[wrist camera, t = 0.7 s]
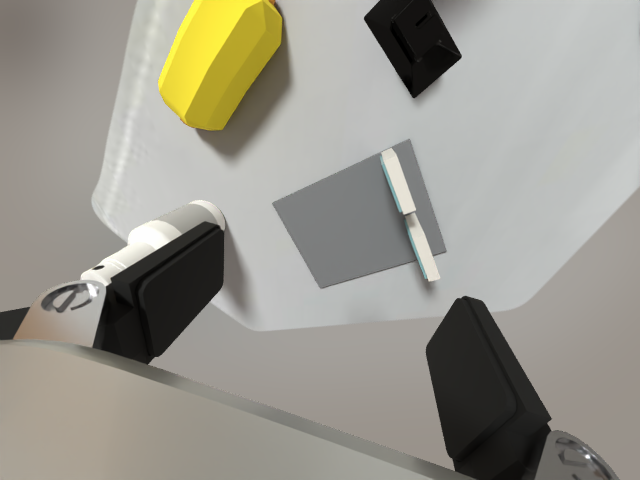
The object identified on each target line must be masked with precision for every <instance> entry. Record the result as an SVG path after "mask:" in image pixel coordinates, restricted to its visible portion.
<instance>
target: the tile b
mask: <svg viewBox="0 0 640 480" xmlns="http://www.w3.org/2000/svg"><path fill="white" fill-rule="evenodd" d="M405 218H406V219H405V220H404V222H405V225H406V228H407V231H408V235H409V238H410V241H411V243H412V246H413V249H414V251H415V254H416V257H417V259H418V262H419V264H420V267H421V270H422V272H423V275H424V278H425V279H427V278H428V281H429V282H430V281H434V280H437V279H440V276H439V273H438V270H437V267H436V264H435V262H434V259H433V256H432V253H431V250H430V247H429V245H428V242H427V239H426V236H425V234H424V232H423V229H422V227H421V225H420V223H419V221H418V219H417V217H416V214H415V213H413V214H410V215H407V216H405Z"/></svg>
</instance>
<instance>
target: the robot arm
mask: <svg viewBox="0 0 640 480" xmlns="http://www.w3.org/2000/svg"><path fill="white" fill-rule="evenodd" d="M223 275H224V231H223V230H222V229H221V227H220V226H219V225H217V224H214V223H210V222H207V221H204V222H202V223H200V224H199V225H197V226H195V227H194V228H192V229H190V230H189V231H187V232H185V233H184V234H182V235H180V236H179V237H177V238H176V239H174V240H172V241H171V242H169V243H167V244H166V245H164V246H162V247H161V248H159V249H157V250H156V251H154V252H152V253H151V254H149V255H147V256H146V257H144V258H142V259H141V260H139V261H138V262H136V263H134V264H133V265H131V266H129V267H128V268H126V269H124V270H123V271H121V272H119V273H118V274H116V275H114V276H113V277H111V278H110V279H111V282H112V283H110V284H109V285H107V286H104V284H103V283H100V282H98V281H94V280H77V281H71V282H66V283H64V284H60V285H57V286H55V287H53V288H51V289H49V290H46V291H45V292H44V293H42V294H41V295H39V296H38V297H37V298H36V300H35V301H34V302H33V303H32V305H31V307H27V308H22V309H16V310H10V311H5V312H0V480H620V479H619V478H618V477H617V475H616V474H615V472H614V471H613V470H612V468H611V467H610V466H609V465H608V464H607V463H606V462H605V461H604V460H603V459H602V457H601V456H599V455H598V454H597V453H596V452H595V451H594V450H593V449H592V448H590V447H589V446H588V445H587V444H585V443H584V442H582V441H581V440H580V439H578V438H576V437H575V436H573V435H571V434H568V433H567V432H563V431H559V430H555V431H551V429H550V427H549V426H548V424H547V423H548V422H549V421H550V420H551V417H550V415H549V413H548V411H547V410H546V408H545V406H544V405H543V403H542V401H541V400H540V398H539V396H538V394H537V393H536V391H535V389H534V388H533V386H532V384H531V382H530V381H529V379H528V378H527V376H526V374H525V372H524V371H523V369H522V367H521V365H520V364H519V362H518V360H517V359H516V357H515V355H514V353H513V352H512V350H511V348H510V347H509V345H508V343H507V341H506V340H505V338H504V337H503V335H502V333H501V331H500V329H499V328H498V326H497V324H496V323H495V321H494V319H493V318H492V316H491V314H490V312H489V311H488V309H487V307H486V305H485V304H484V302H483V301H481V300H478V299H475V298H471V297H468V296H463V297H462V298H457V299H456V300H455V302H454V303H453V305H452V306H451V308H450V310H449V311H448V313H447V314H446V316H445V318H444V319H443V321H442V322H441V324H440V325H439V327H438V329H437V330H436V332H435V333H434V335H433V337H432V338H431V340H430V341H429V343H428V345H427V347H426V356H427V361H428V366H429V371H430V375H431V380H432V385H433V389H434V394H435V399H436V403H437V408H438V412H439V417H440V422H441V427H442V432H443V436H444V441H445V446H446V450H447V453H448V455H449V457H450V458H452V459H453V463H454V468H455V471H453V470H450V469H447V468H444V467H442V466H439V465H436V464H433V463H430V462H427V461H425V460H422V459H419V458H416V457H413V456H411V455H407V454H405V453H402V452H399V451H396V450H393V449H391V448H388V447H385V446H382V445H379V444H377V443H374V442H371V441H368V440H365V439H362V438H360V437H357V436H354V435H351V434H348V433H345V432H342V431H340V430H336V429H333V428H331V427H328V426H325V425H322V424H320V423H316V422H313V421H311V420H308V419H305V418H302V417H299V416H297V415H294V414H291V413H288V412H285V411H282V410H279V409H276V408H273V407H271V406H267V405H265V404H262V403H259V402H256V401H253V400H250V399H247V398H244V397H242V396H239V395H236V394H233V393H230V392H227V391H224V390H221V389H218V388H215V387H212V386H209V385H206V384H204V383H201V382H197V381H195V380H192V379H189V378H186V377H183V376H180V375H177V374H174V373H171V372H168V371H165V370H163V369H159V368H156V367H153V366H150V365H148V364H149V363H150V362H151V360H152V359H153V358H154V357H159V356H160V355H162V354H163V353H164V352H165V350H166V349H167V348H168V347H169V346H170V345H171V344H172V343H173V341H174V340H175V339H176V338H177V337H178V336H179V335H180V334H181V333H182V331H183V330H184V329H185V328H186V327H187V326H188V325H189V324H190V323H191V322H192V320H193V319H194V318H195V317H196V316H197V315H198V314H199V313H200V312H201V310H202V309H203V308H204V307H205V306H206V305H207V304H208V303H209V302H210V301H211V299H212V298H213V297H214V296H215V295H216V294H217V293H218V292H219V291H220V289H221V288H222V285H223Z"/></svg>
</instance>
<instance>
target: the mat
mask: <svg viewBox="0 0 640 480" xmlns="http://www.w3.org/2000/svg"><path fill="white" fill-rule="evenodd" d="M391 148H392V149H393V151H394V152H395V153H396V155H397V157H398V160H399V163H400V166H401V168H402V171H403V174H404V177H405V180H406V183H407V185H408V188H409V191H410V194H411V197H412V199H413V202H414V205H415V208H416V210H415V211H413V212H410V213H407V214H403V211H402V212H399V209H398V207H397V204H396V201H395V199H394V196H393V193H392V191H391V188H390V186H389V183H388V180H387V178H386V175H385V172H384V170H383V167H382V164H381V160H380V156H381V155H382V154H381V152H380V153H378V154H376V155H374V156H372V157H370V158H367V159H365V160H363V161H361V162H359V163H357V164H355V165H352V166H350V167H348V168H346V169H344V170H342V171H340V172H337V173H335V174H333V175H331V176H329V177H327V178H325V179H322V180H320V181H318V182H316V183H314V184H312V185H310V186H307V187H305V188H303V189H301V190H299V191H297V192H295V193H293V194H290V195H288V196H286V197H284V198H282V199H280V200H278V201H275V202H273V203H272V204H273V206H274V208H275V209H276V211H277V213H278V215H279V217H280V218H281V220H282V222H283V224H284V225H285V227H286V229H287V231H288V232H289V234H290V236H291V238H292V240H293V241H294V243H295V245H296V247H297V248H298V250H299V252H300V254H301V255H302V257H303V259H304V261H305V263H306V264H307V266H308V268H309V270H310V271H311V273H312V275H313V277H314V278H315V280H316V282H317V284H318V286H319V287H320V288H323V287H326V286H329V285H333V284H336V283H340V282H343V281H346V280H350V279H353V278H357V277H360V276H363V275H367V274H370V273H374V272H377V271H380V270H384V269H387V268H391V267H394V266H398V265H401V264H404V263H408V262H411V261H415V260H418V259H417V257H416V254H415V251H414V249H413V246H412V243H411V241H410V238H409V235H408V231H407V228H406V225H405V222H404V220H405V219H406V218H405V216H407V215H410V214H413V213H415V214H416V217H417V219H418V221H419V223H420V225H421V227H422V229H423V232H424V234H425V236H426V239H427V242H428V245H429V247H430V250H431V253H432V255H435V254H438V253H442V252H445V251H446V248H445V245H444V242H443V239H442V236H441V233H440V230H439V226H438V223H437V220H436V217H435V214H434V211H433V208H432V205H431V202H430V199H429V196H428V193H427V190H426V187H425V184H424V181H423V178H422V175H421V172H420V169H419V166H418V163H417V160H416V157H415V154H414V150H413V147H412V144H411V141H410V139H408V140H406V141H404V142H402V143H399V144H397V145H395V146H393V147H391ZM389 149H390V148H389ZM387 150H388V149H387ZM384 151H385V150H384ZM382 152H383V151H382Z"/></svg>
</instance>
